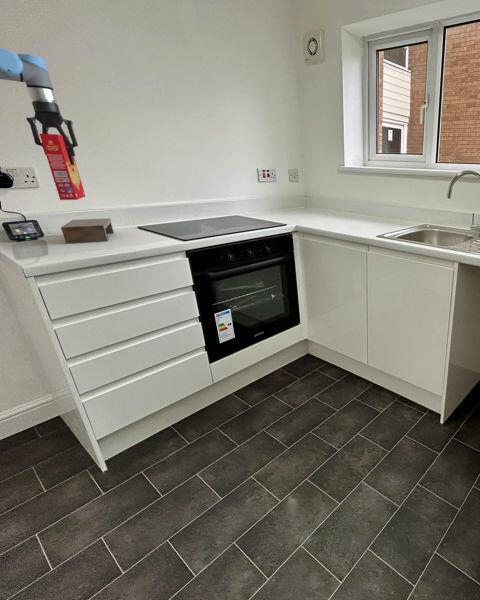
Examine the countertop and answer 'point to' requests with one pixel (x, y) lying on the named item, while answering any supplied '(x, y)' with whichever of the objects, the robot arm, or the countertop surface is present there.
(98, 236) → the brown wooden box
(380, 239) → the countertop surface
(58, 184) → the food packaging
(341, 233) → the countertop surface
